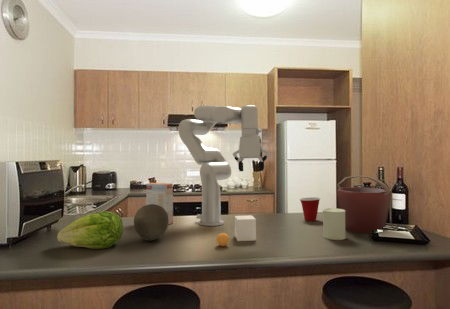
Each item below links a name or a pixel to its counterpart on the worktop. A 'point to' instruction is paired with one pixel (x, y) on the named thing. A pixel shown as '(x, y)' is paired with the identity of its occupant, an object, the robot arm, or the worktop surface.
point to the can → (334, 223)
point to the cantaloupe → (151, 222)
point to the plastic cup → (310, 208)
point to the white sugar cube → (245, 228)
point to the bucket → (364, 206)
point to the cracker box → (161, 197)
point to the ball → (222, 239)
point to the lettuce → (93, 231)
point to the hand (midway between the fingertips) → (251, 171)
